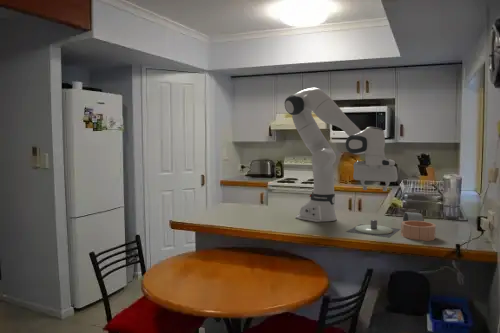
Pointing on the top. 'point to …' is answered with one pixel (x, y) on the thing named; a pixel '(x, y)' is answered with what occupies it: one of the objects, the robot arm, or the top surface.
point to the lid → (373, 229)
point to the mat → (374, 234)
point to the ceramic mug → (413, 217)
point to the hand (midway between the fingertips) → (374, 190)
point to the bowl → (418, 230)
